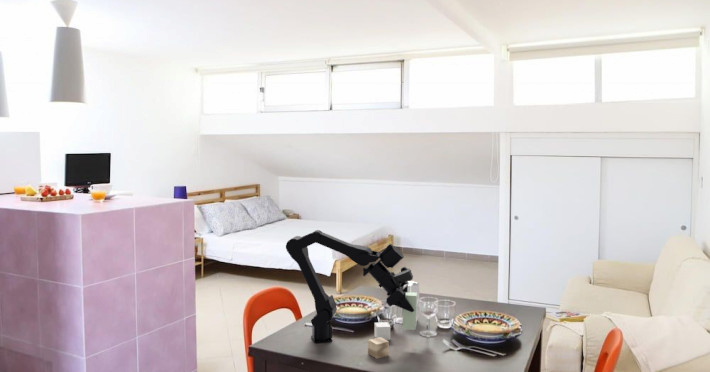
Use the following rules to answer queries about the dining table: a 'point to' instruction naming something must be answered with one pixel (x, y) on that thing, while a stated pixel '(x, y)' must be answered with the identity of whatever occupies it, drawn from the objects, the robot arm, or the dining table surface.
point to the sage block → (408, 316)
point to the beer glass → (413, 289)
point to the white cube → (382, 330)
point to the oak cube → (378, 347)
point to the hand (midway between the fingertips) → (413, 309)
